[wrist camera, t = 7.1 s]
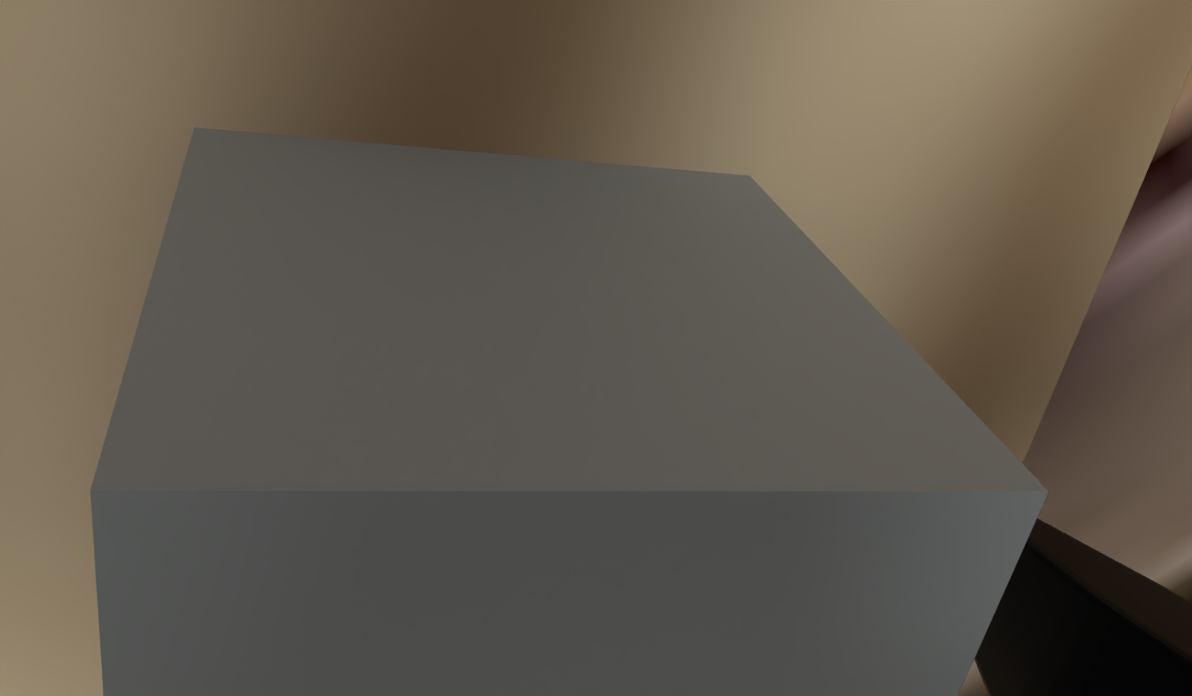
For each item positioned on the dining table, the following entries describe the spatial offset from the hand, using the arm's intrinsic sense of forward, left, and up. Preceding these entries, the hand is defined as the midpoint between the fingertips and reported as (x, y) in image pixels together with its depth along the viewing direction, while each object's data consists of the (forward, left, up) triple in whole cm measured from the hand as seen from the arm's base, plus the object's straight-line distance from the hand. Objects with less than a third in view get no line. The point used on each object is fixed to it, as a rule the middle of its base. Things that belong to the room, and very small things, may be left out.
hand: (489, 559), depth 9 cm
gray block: (0, 0, -2) cm, 3 cm away
